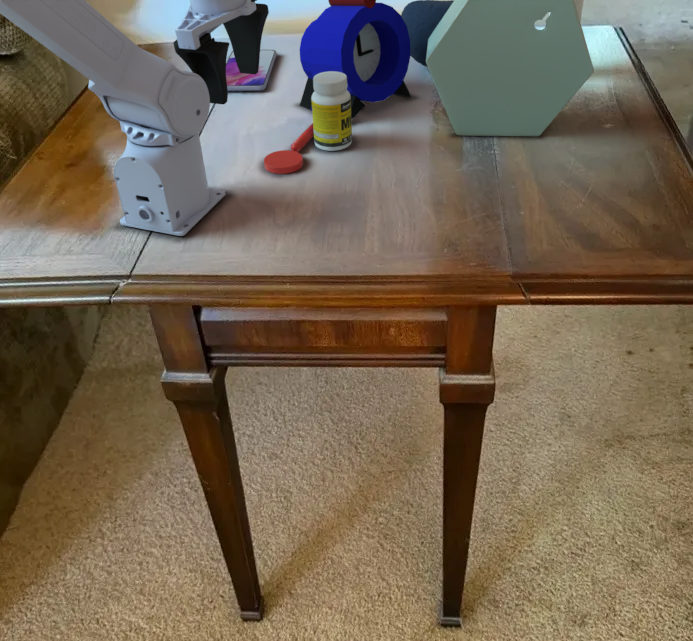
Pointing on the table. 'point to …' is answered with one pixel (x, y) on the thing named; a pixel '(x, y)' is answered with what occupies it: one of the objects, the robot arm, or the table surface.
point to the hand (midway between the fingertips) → (234, 87)
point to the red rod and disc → (288, 155)
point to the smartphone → (250, 81)
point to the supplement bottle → (331, 111)
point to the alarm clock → (358, 50)
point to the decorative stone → (423, 24)
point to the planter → (507, 64)
